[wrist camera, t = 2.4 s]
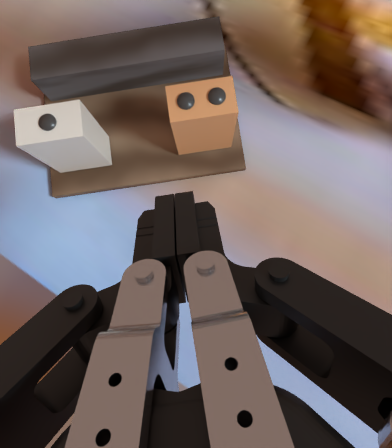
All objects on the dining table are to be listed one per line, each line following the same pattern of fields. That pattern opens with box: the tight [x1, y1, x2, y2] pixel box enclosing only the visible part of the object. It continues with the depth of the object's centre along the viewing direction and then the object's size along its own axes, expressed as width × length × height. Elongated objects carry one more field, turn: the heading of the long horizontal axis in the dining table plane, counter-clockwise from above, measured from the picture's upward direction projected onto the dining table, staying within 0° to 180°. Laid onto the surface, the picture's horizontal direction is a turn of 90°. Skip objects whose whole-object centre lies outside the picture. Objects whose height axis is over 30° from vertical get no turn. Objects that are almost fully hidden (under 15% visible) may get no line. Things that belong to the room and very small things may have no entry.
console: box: [28, 17, 246, 198], centre depth 39 cm, size 18×26×6 cm
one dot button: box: [14, 100, 112, 173], centre depth 36 cm, size 4×7×10 cm, turn 98°
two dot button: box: [165, 76, 238, 155], centre depth 36 cm, size 4×7×10 cm, turn 98°
